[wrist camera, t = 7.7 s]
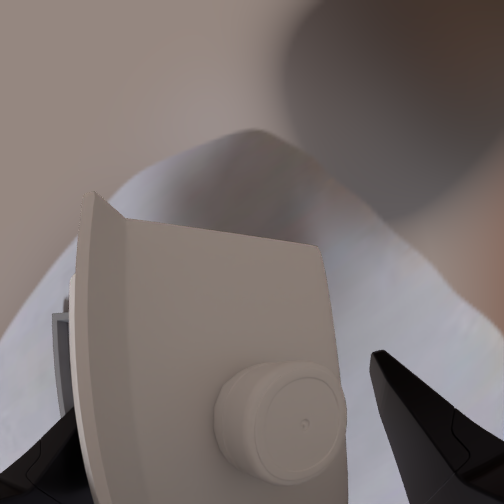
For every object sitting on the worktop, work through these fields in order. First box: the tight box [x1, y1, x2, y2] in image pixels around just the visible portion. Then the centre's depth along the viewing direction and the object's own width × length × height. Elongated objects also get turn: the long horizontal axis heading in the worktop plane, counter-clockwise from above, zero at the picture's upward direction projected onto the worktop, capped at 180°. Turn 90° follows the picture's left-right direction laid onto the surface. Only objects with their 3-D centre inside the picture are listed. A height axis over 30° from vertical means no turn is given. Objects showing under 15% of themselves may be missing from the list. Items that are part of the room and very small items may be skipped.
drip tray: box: [52, 312, 74, 418], centre depth 21 cm, size 10×10×2 cm
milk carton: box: [69, 191, 348, 504], centre depth 12 cm, size 7×7×19 cm
